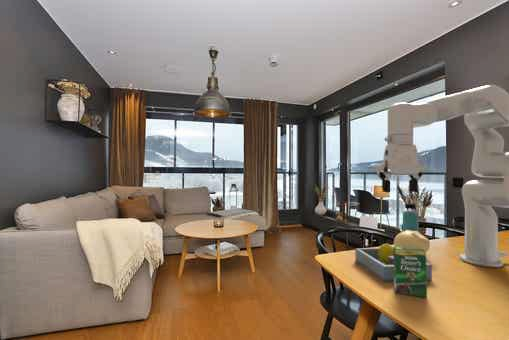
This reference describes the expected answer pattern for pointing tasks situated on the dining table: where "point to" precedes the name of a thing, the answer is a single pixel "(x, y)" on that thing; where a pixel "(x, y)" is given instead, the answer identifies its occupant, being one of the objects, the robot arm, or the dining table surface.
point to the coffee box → (410, 271)
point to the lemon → (385, 252)
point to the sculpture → (411, 240)
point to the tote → (380, 264)
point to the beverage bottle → (410, 218)
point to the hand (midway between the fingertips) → (399, 191)
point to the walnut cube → (390, 260)
